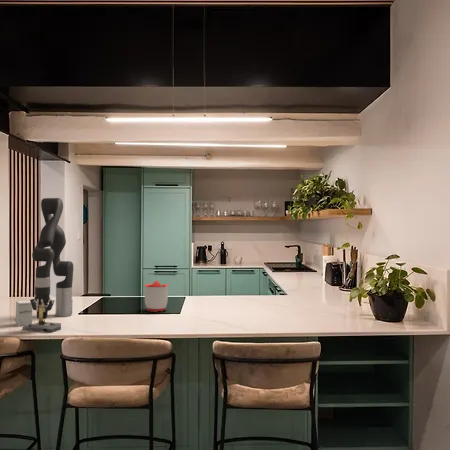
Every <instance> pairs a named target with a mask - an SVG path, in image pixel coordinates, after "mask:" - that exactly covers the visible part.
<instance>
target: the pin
mask: <svg viewBox="0 0 450 450" xmlns="http://www.w3.org/2000/svg"><path fill="white" fill-rule="evenodd" d="M45 306H46V305H45ZM38 322H39V324H45V322H46V319H43V308H42V305H39V319H38Z"/></svg>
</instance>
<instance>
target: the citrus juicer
mask: <svg viewBox="0 0 450 450" xmlns="http://www.w3.org/2000/svg"><path fill="white" fill-rule="evenodd" d="M168 295H169V284H167V283H163V284H161V283H160V282H159V281H158V280H155V281H154V282H153V283H147V284H144V304H145V308H146V311H147V312H149V311H150V313H159V312H158V311H161V312H164V311H163V310H166V308H167V305H168V299H169V298H168V297H169V296H168Z"/></svg>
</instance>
